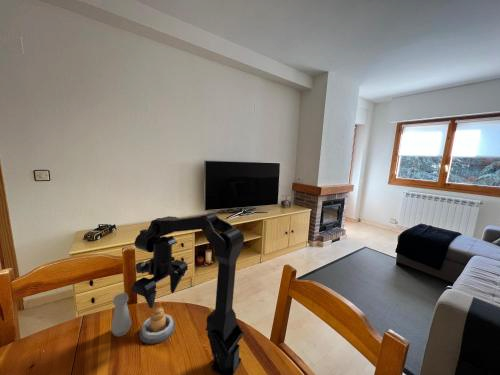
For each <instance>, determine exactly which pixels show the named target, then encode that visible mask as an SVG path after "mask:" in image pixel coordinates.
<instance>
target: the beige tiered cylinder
mask: <svg viewBox="0 0 500 375" xmlns="http://www.w3.org/2000/svg"><path fill="white" fill-rule="evenodd" d="M165 314H166V313H165V309H164V308H163V307H162V306H157V307H155V308H154V309H153V310H152V311H151V316H150V317H149V318H150V331H151V332H152V333H156V332H160V331H162V330H164V329H165V326H166V315H165Z"/></svg>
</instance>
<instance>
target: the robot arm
mask: <svg viewBox="0 0 500 375" xmlns="http://www.w3.org/2000/svg"><path fill="white" fill-rule="evenodd" d="M195 230H201V231H202V232H203V233H204V236H205V238H206V240H207V242H208V244H210V245H211V246H212V247H213V253H214V254H213V255H214V257H215V259H216V260H217V263H218V266H217V267H218V268H217V280H216V282H217V283H216V292H215V293H216V296H215V306H214V307H215V308H214V310H212V311H211V312H210V313H209V314H208V315H207V316H206V326H205V331H206V335H207V338H208V341H209V346H210V350H211V353H212V354H213V358H212V360H213V364H212V365H211V371H214V372H215V373H217V374H220V375H235V373H236V371H237V370H238V368H239V366H240V364H241V362H242V358H241V357H240V344H238V343H239V342H240V340H241V339H242V338H243V336H244V331H243V329H242V328H241V326H240V325H239V324H238V322H237V314H236V312H235V311H234V309H233V301H234V293H235V289H234V288H235V280H236V279H235V278H236V268H237V267H236V266H237V261H238V259H239V257H240V254H241V252H242V249H243V245H244V242H245V237H244V233H243V232H242V231H241V230H239V229H238V228H236V227H235V226H234V225H233V224H232V223H229V222H228V221H225V220H224V219H221V218H220V217H219V216H218V215H217V214H215V213H212V212H211V213H207V214H201V215H194V216H187V217H186V216H185V217H181V218H180V217H177V216H172V215H171V216H170V215H169V216H164V217H159V218H156V219H153V220H151V221H150V225H149V227H148V228H147V229H141V230H139V234H138V235H136V237H135V240H134V247H135V248H136V249H138V250H141V251H144V252H147V253H153V254H152V258H150V259H148V260H146V261H140V262H137V263H135V272H136V273H137V274H141V275H143V274H145V273H148V275H149V276H153V277H151V278H148V277H144V276H143V277H142V278H140V279H139V278H138V280H136V281H134V282H133V283H132V284H131V292H132V293H135V294H137V295H139V296H142V297H144V299H145V301H146V304H147V306H148V307H149V308H150V309H153V308H154V305H155V300H156V296H157V290H156V288H157V284H158V283H159V282H161V281H162V280H164V279H165V278H167V277H169V279H170V280H169V282H170V284H169V286H170V287H169V288H170V293H172V294H174V293H175V291H176V289H177V287H178V286H179V284H180V282H181V280H182V278H183V276H184V275H185V274H186V272H187V271H188V269H189V268H188V263H187V262H186V261H184V260H183V261H182V260H179V259H175V258H176V257H175V256H173V245H175V244H177V243H178V240H177V239H176V238H175V237H174V236H172V235H171V236H167V235H170V234H173V233H175V232H176V233H179V232H186V231H187V232H188V231H195ZM215 230H216V231H215ZM217 231H218V232H220V233H218V232H217Z"/></svg>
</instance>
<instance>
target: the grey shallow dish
mask: <svg viewBox="0 0 500 375" xmlns="http://www.w3.org/2000/svg"><path fill="white" fill-rule="evenodd" d="M165 315H166V326H165V329H164V330H162V331H160V332H156V333H152V332H151V331H150V317H149V318H147V319H146V320H144V322H143V324H142V326H141V328H140V329H139V339H140V340H141V342H143V344H147V345H155V344H156V345H157V344H160V343H162V342H165V341H167V340H169V338H171V337H172V335H173V334H174V332H175V329H176V322H175V320H174V319H173V317H172V316H171V315H169V314H167V313H165Z"/></svg>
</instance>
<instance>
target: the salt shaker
mask: <svg viewBox="0 0 500 375" xmlns="http://www.w3.org/2000/svg"><path fill="white" fill-rule="evenodd" d="M127 302H129V294H128V293H126V292H121V293H118V294H116V295H114V297H113V299H112V303H113V306H114V312H113V315H112V320H111V327H110V331H111V333H112V334H113V336H115V337H117V338H121V337H123V336H125V335H126V334H127V333H128V332H129V331H130V328H131V326H132V318H131V315H130V312H129V307H128V303H127Z"/></svg>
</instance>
